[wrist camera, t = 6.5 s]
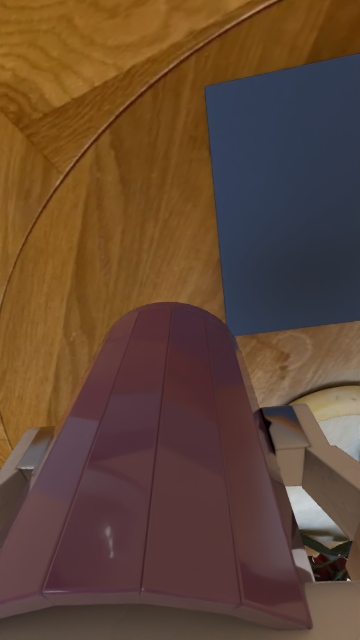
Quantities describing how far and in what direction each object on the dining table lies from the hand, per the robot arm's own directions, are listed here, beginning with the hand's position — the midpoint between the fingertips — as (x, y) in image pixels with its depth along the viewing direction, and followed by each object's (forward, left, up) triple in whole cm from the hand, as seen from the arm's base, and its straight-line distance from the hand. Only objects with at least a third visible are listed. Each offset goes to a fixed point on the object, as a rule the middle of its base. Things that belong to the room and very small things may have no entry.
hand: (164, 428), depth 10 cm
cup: (0, 0, -4) cm, 4 cm away
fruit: (+22, +16, -20) cm, 33 cm away
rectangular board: (-2, +12, -19) cm, 23 cm away
